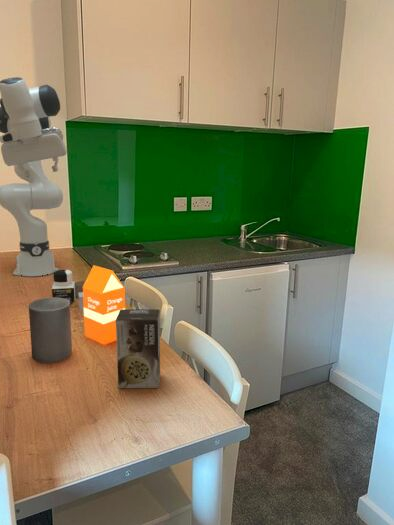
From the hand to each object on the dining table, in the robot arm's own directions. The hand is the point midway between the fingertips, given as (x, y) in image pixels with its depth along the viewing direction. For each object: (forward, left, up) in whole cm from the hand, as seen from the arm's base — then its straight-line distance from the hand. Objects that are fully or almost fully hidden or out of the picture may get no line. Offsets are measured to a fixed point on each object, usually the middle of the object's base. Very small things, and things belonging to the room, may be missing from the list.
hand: (42, 174), depth 133 cm
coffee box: (+70, +8, -44) cm, 83 cm away
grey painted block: (+18, +9, -44) cm, 48 cm away
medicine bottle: (+11, +3, -44) cm, 45 cm away
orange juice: (+43, +8, -44) cm, 62 cm away
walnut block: (+4, +10, -44) cm, 45 cm away
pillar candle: (+48, -7, -44) cm, 65 cm away
